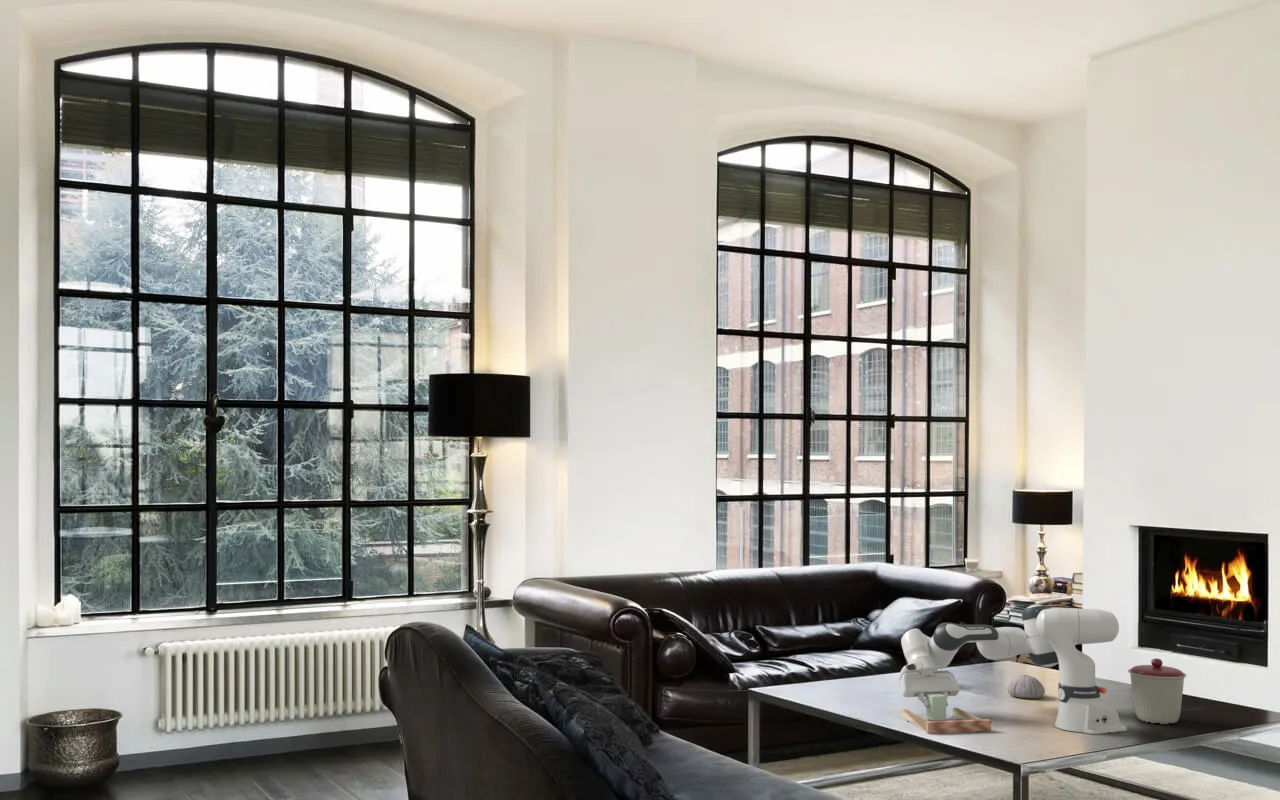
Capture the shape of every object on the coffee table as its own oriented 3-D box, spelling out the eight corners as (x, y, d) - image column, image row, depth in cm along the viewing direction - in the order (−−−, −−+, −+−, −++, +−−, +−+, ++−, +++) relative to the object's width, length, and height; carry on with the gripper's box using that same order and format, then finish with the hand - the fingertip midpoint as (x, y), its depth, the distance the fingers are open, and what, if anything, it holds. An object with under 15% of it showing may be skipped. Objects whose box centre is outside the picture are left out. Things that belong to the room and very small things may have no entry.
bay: (959, 716, 402) (959, 706, 402) (991, 731, 380) (991, 720, 381) (899, 718, 398) (899, 708, 398) (927, 733, 376) (927, 722, 376)
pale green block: (939, 717, 398) (939, 693, 398) (946, 720, 393) (946, 696, 393) (925, 717, 397) (925, 693, 397) (932, 720, 392) (932, 696, 392)
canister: (1120, 714, 408) (1120, 653, 409) (1174, 716, 407) (1173, 654, 408) (1139, 726, 390) (1139, 662, 391) (1195, 728, 389) (1195, 663, 390)
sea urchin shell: (1005, 692, 446) (1005, 671, 446) (1042, 694, 443) (1042, 672, 443) (1008, 699, 433) (1008, 677, 433) (1047, 701, 430) (1047, 679, 430)
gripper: (948, 675, 409) (962, 710, 399) (893, 677, 405) (905, 712, 395) (954, 665, 405) (968, 699, 395) (899, 666, 401) (911, 701, 390)
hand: (936, 705), depth 395 cm, fingers closed on pale green block, 5 cm apart
